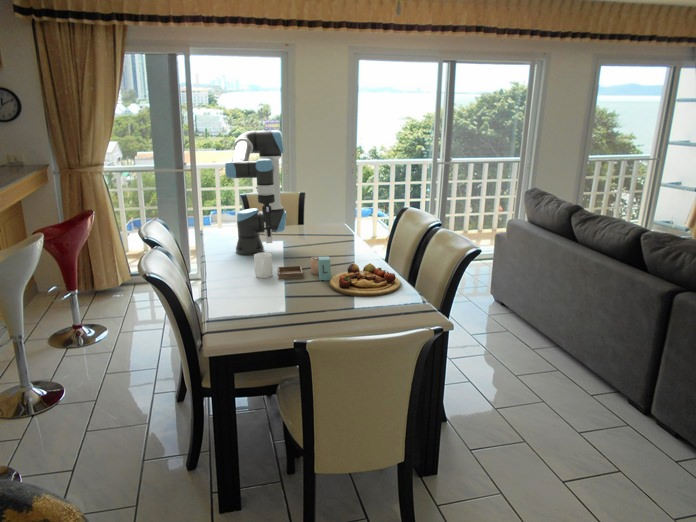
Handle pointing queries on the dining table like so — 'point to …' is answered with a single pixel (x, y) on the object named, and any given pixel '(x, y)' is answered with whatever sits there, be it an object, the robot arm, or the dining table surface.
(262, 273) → the mug
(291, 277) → the walnut box
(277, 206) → the robot arm
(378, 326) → the dining table surface
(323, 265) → the teal block
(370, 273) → the wooden plate with food
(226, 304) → the dining table surface
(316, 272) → the terracotta pot
